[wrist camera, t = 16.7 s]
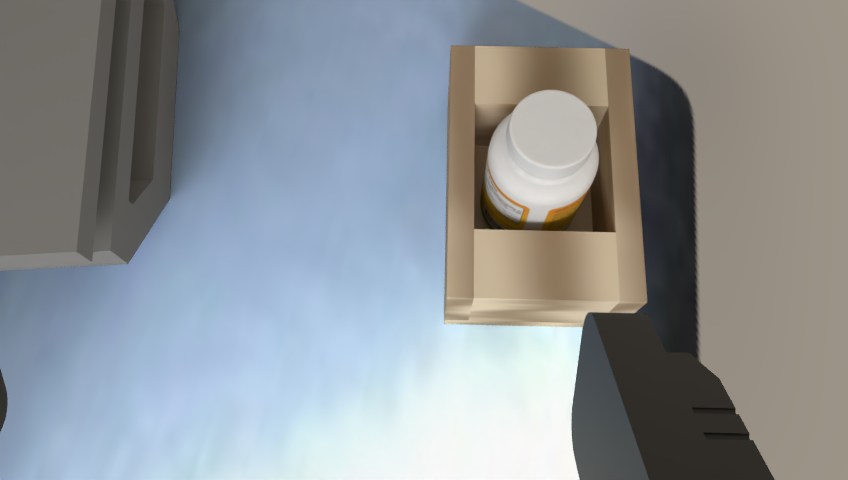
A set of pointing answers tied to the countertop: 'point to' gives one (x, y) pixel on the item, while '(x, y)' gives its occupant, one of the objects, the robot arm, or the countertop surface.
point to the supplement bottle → (540, 164)
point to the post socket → (542, 250)
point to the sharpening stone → (84, 128)
